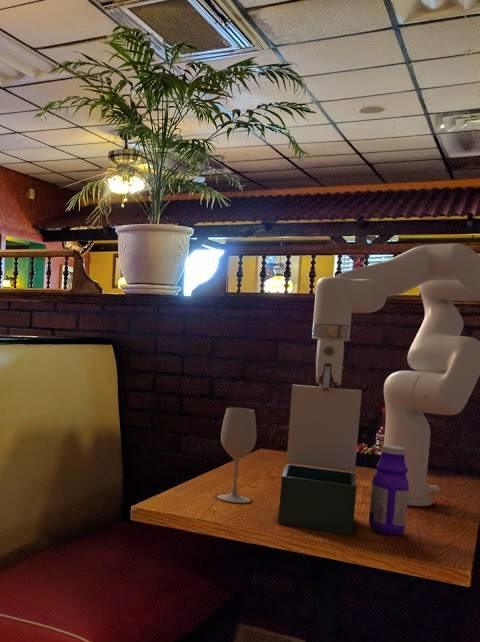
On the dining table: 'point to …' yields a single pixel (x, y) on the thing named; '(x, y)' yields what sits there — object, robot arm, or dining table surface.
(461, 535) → the dining table surface
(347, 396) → the cooler lid
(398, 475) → the bottle
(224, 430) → the wineglass
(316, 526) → the dark green open box
